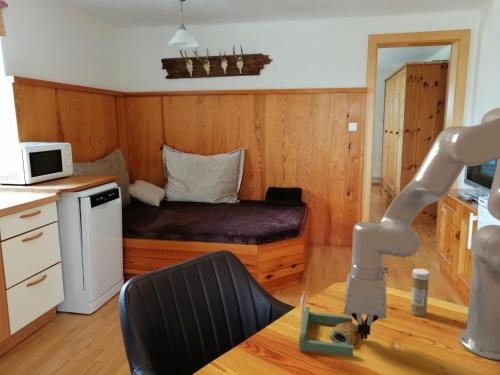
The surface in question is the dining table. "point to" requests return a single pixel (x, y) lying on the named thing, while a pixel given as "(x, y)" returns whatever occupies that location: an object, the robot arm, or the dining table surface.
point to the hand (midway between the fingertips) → (363, 336)
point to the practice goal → (319, 345)
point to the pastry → (345, 333)
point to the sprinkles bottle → (419, 292)
